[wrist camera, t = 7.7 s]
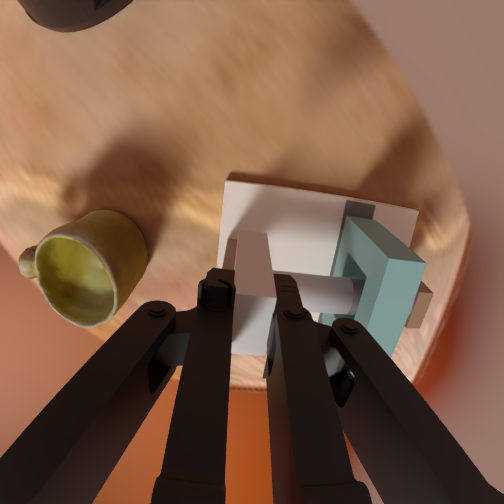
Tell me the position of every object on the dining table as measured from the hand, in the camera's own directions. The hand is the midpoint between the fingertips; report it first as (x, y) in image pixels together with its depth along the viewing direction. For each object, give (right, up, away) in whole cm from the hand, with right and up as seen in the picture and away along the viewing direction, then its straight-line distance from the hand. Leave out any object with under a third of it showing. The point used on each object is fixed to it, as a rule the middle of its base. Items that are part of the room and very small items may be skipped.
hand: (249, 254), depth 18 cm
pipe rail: (+6, -1, +14) cm, 15 cm away
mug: (-16, +1, +13) cm, 21 cm away
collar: (+9, -2, +13) cm, 16 cm away
